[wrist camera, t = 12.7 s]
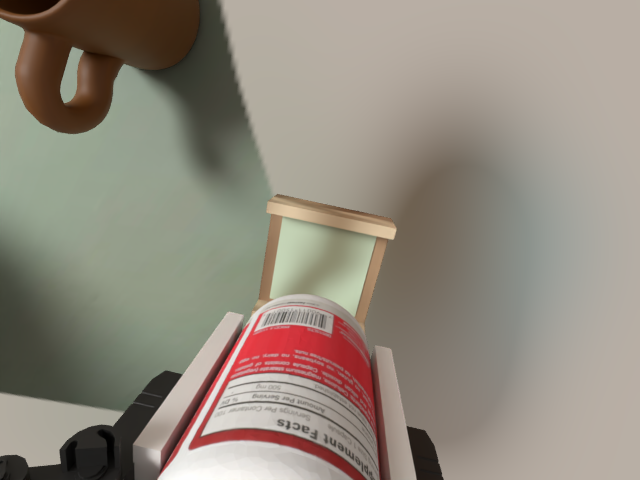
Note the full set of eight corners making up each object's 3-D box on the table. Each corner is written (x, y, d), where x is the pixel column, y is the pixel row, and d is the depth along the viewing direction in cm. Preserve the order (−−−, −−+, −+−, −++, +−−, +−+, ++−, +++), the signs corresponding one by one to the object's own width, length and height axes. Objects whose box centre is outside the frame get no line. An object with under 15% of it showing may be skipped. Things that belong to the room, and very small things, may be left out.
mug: (195, 146, 23) (100, 149, 14) (100, 125, 23) (-54, 115, 14) (209, -47, 19) (90, -207, 10) (94, -71, 20) (-119, -248, 11)
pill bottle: (298, 412, 16) (202, 893, 6) (220, 331, 15) (-67, 747, 5) (395, 358, 15) (501, 892, 4) (316, 263, 14) (197, 671, 3)
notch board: (249, 378, 30) (238, 403, 27) (277, 194, 24) (267, 201, 21) (339, 399, 29) (339, 427, 27) (391, 218, 24) (396, 229, 21)
